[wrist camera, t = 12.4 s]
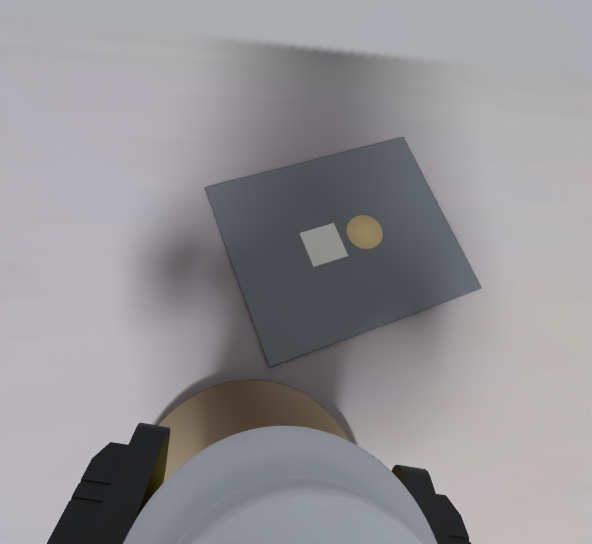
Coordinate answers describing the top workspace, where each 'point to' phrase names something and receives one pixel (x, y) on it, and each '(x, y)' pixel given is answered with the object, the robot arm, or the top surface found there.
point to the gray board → (338, 247)
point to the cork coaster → (239, 416)
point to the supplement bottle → (282, 495)
